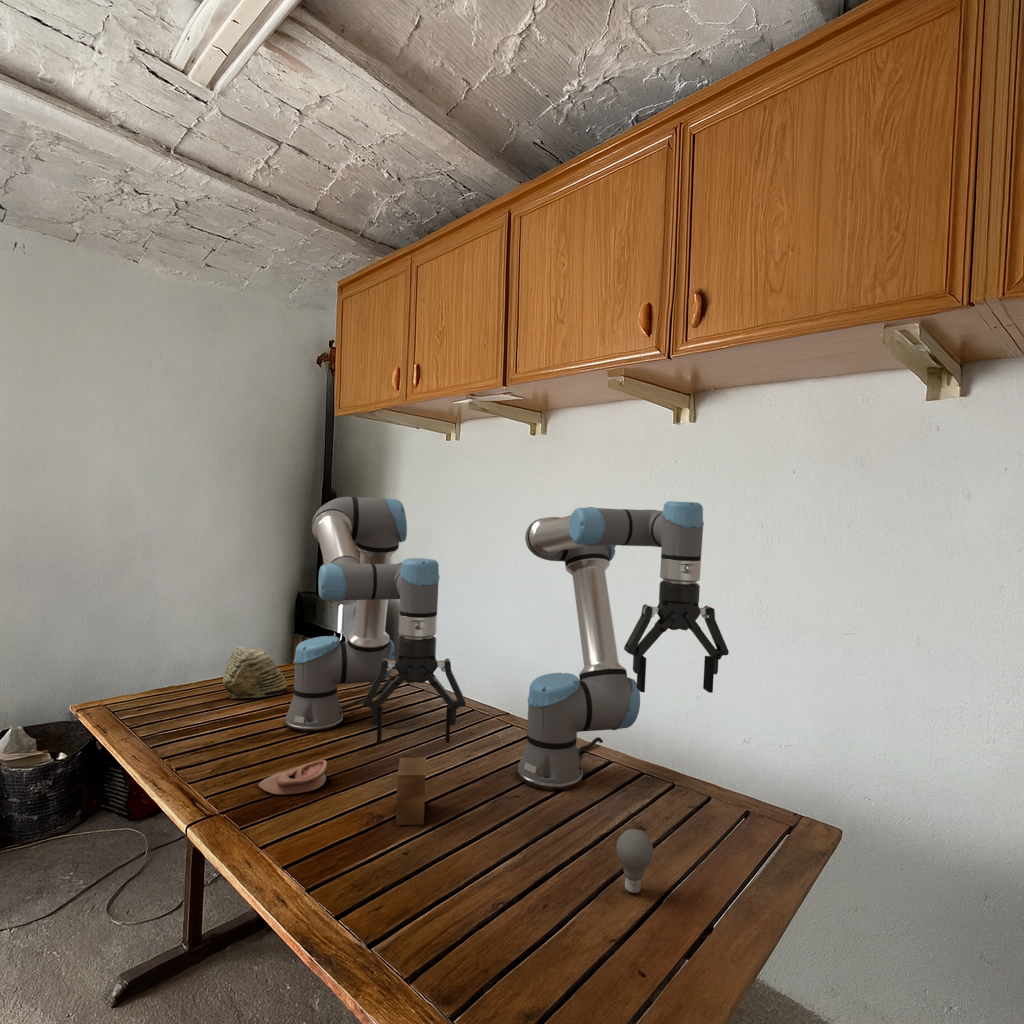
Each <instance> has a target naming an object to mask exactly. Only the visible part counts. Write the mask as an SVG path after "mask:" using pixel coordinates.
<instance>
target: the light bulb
mask: <svg viewBox="0 0 1024 1024" xmlns="http://www.w3.org/2000/svg"><path fill="white" fill-rule="evenodd" d="M615 849H616V854H617V857H618V859H619V861H620V863H621V865H622V867H623V873H624V874H623V875H624V876H625V878H624V888H625V890H627V891H628V892H630V893H634V894H635V893H639V892H640V891H641V889H642V887H641V886H642V879H643V877H644V875H645V871H646V868H647V867H648V866H649V864H650V863H651V861H652V859H653V855H654V847H653V843H652V841H651V838H649V836H648V835H647V834H646V833H645V832H643V831H642V830H641V829H636V828H629V829H627V830H625V831H623V832H622V833H621V834H620V835H619V837H618V839H617V841H616V847H615Z"/></svg>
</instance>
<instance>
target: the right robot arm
mask: <svg viewBox="0 0 1024 1024" xmlns="http://www.w3.org/2000/svg"><path fill="white" fill-rule="evenodd" d="M704 525H705V522H704V507H703V505H702V504H701V503H700V502H695V501H672V500H671V501H666V502H665V503H664V504H663V509H662V510H657V509H634V508H633V509H632V508H631V509H629V508H604V507H603V508H602V507H594V506H585V507H577V508H575V509H573V511H572V513H571V514H570V515H566V516H561V517H559V516H548V517H541V518H538V519H536V520H534V521H532V522H531V523H530V524H529V525H528V527H527V529H526V531H525V536H524V538H525V539H524V541H525V545H526V547H527V549H528V550H529V552H530V553H532V554H533V555H534V556H536V557H537V558H538V559H539V558H540V559H542V560H544V561H550V562H564V564H565V571H566V572H567V573H568V574H570V575H571V576H572V582H573V583H572V584H573V589H574V598H575V606H576V613H577V621H578V629H579V638H580V644H581V653H582V660H583V668H582V669H581V671H580V672H579V673H578V676H577V675H576V674H574V673H569V672H564V673H562V672H551V673H546V674H543V675H540V676H537V677H535V678H534V679H532V681H531V682H530V685H529V690H528V697H527V726H526V727H527V729H526V741H525V742H526V743H525V745H524V748H523V752H522V755H521V758H520V760H519V761H518V765H517V777H518V779H519V780H520V782H522V783H524V785H527V786H529V787H532V788H535V789H539V790H544V791H565V790H569V789H570V790H571V789H574V788H576V787H578V786H579V785H581V784H582V782H583V779H584V778H583V777H584V769H583V766H582V762H581V758H580V756H581V754H582V752H583V751H586V750H589V749H591V748H592V747H593V746H594V745H596V744H597V743H600V744H601V743H602V744H603V743H604V740H603V739H602V738H601V737H599V736H596V737H595V738H594V739H593V740H592V741H591V742H590V743H588V744H586V745H583V746H580V747H579V748H578V746H577V738H578V737H577V736H578V733H579V732H580V733H581V732H591V731H592V732H596V731H610V730H611V731H617V730H622V729H627V728H630V727H632V726H633V725H634V724H635V722H636V721H637V719H638V715H639V713H640V709H641V693H645V692H646V678H647V677H646V676H647V675H646V674H647V658H646V657H645V656H644V655H645V654H646V653H647V652H648V650H649V649H650V648H651V647H652V646H653V645H654V643H655V642H656V641H657V640H658V639H659V638H660V637H661V636H662V634H663V633H665V632H667V631H668V630H671V631H677V630H681V631H688V630H690V631H691V632H692V634H693V635H694V636H695V637H696V639H697V640H698V641H699V643H700V644H701V646H702V647H703V648H704V650H705V651H706V652H707V654H708V655H704V662H703V663H704V664H703V683H702V684H703V685H702V689H703V690H704V691H706V692H707V693H709V694H713V693H714V676H715V675H718V674H719V661H720V660H721V659H722V657H723V656H728V655H729V654H730V650H729V648H728V647H727V643H726V641H725V639H724V637H723V634H722V632H721V629H720V627H719V625H718V622H717V620H716V612H715V611H716V610H715V608H714V607H711V606H709V605H705V606H703V607H700V605H699V603H700V588H701V585H700V584H699V583H698V582H699V581H701V568H702V549H703V535H704V534H703V533H704ZM617 546H623V547H624V546H626V547H654V548H655V547H656V548H661V552H660V553H661V554H660V571H659V578H660V579H662V580H661V581H659V589H658V605H657V606H652V605H649V604H647V603H646V604H643V605H642V607H641V614H640V617H639V618H638V620H637V622H636V624H635V625H634V627H633V629H632V631H631V633H630V635H629V637H628V639H627V640H626V643H625V644H624V646H623V650H624V651H625V652H626V653H628V654H629V655H632V671H633V673H635V674H636V680H635V679H634V678H631V677H628V672H627V668H626V667H624V666H623V665H622V664H621V663H620V661H619V655H618V648H617V647H618V646H617V641H616V633H615V629H614V621H613V613H612V609H611V601H610V595H609V588H608V581H607V580H608V579H607V574H606V571H607V570H608V568H609V567H610V565H611V561H612V560H613V559H614V557H615V555H616V549H615V548H616V547H617ZM656 614H657V616H658V617H659V618H658V619H657V621H656V622H655V623H654V625H653V627H651V629H650V630H649V631H648V632H647V634H646V635H644V634H645V632H646V630H647V628H648V626H649V625H650V623H651V620H652V618H654V617H655V615H656ZM700 616H701V617H702V618H703V619H704V622H705V624H706V627H707V629H708V631H709V634H710V636H711V639H712V641H713V643H714V645H715V646H714V645H713V643H712V642H711V640H710V639H709V638H708V637H707V635H706V634H705V632H704V631H703V630H702V628H701V626H700V625H699V624H698V623H697V619H698V618H699V617H700ZM643 636H644V637H643ZM642 637H643V638H642Z"/></svg>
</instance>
